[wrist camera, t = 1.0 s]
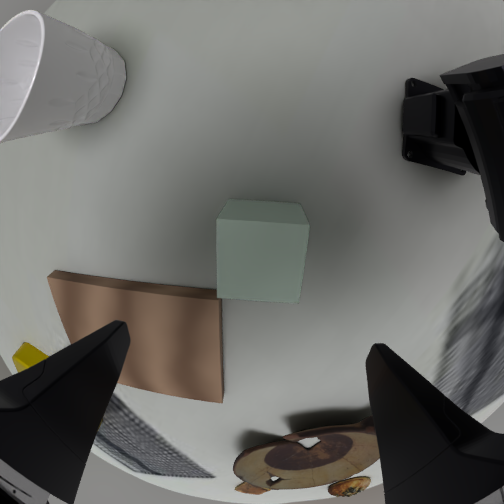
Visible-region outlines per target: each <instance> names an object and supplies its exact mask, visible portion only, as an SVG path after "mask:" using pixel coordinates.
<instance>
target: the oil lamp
mask: <svg viewBox="0 0 504 504" xmlns="http://www.w3.org/2000/svg"><path fill="white" fill-rule="evenodd" d="M313 437H318V439H320V440H321V441H320V442H319V443H317V444H316V445H315V446H313V447H312V448H310V449H305V448H304V447H303V446H302V445H300V444H298V443H297V442H296V441H299V440H302V439H305V438H313ZM283 438H284V439H286V441H279V442H271V443H267V444H264V445H259V446H256V447H252V448H249V449H246V450H244V451H243V452H242V453H241V454H240V455H239V456H238V457H237V458H236V460H235V462H234V466H233V471H234V474H235V475H236V476H237V477H239V478H240V479H242V481H244V482H247V483H248V484H251V485H252V486H253V487H261V488H269V489H274V490H279V489H299V488H300V489H301V488H310V487H316V486H322V485H326V484H330V483H333V482H337V481H341V480H344V479H346V478H349V477H351V476H353V475H354V474H358V473H359V472H361V471H363V470H364V469H366V468H367V467H369V466H370V465H372V464H373V463H374V462H376V461H377V460H378V459H379V458H380V455H379V449H378V443H377V437H376V431H375V426H374V421H373V416H372V415H371V416H369V417H367V418H365V419H364V420H362V421H361V422H358V423H355V424H349V425H335V426H326V427H320V428H314V429H309V430H304V431H300V432H296V433H292V434H288V435H285V436H283ZM273 476H276V477H279V478H278V479H277V480H275V481H272V479H271V477H273Z"/></svg>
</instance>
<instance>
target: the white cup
mask: <svg viewBox="0 0 504 504" xmlns="http://www.w3.org/2000/svg"><path fill="white" fill-rule="evenodd" d="M126 78H127V77H126V69H125V61H124V60H123V59H122V58H121V56H120V55H119V54H118V53H117V51H116V50H114V49H112V48H110V47H108V46H106V45H104V44H103V43H101V42H100V41H99V40H97V39H96V38H94V37H92V36H90V35H88V34H86V33H85V32H83V31H81V30H79V29H77V28H75V27H73V26H70V25H68V24H66V23H64V22H61V21H59V20H57V19H54V18H52V17H50V16H47V15H45V14H42V13H40V12H37V11H35V10H27V11H24V12H21V13H19V14H18V15H16V16H14V17H13V18H12V19H11V20H9V21H8V22H7V23H6V24H5V25H4V26H3V27H2V28H1V29H0V143H3V142H6V141H10V140H14V139H19V138H23V137H28V136H33V135H38V134H43V133H46V132H52V131H57V130H61V129H68V128H71V127H73V126H81V125H86V124H91V123H96V122H98V121H99V120H101V119H102V118H103V117H104V116H106V115H107V114H109V113H110V112H111V111H112V109H113V108H114V106H115V105H116V103H117V102H118V100H119V99H120V97H121V96H122V92H123V88H124V85H125V81H126Z"/></svg>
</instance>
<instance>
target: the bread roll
mask: <svg viewBox="0 0 504 504" xmlns="http://www.w3.org/2000/svg"><path fill="white" fill-rule="evenodd" d="M370 482H371V480H370V479H369V478H368V477H354V478H350V479H346V480H344V481H340V482H336V483H335V484H332V485H330V486H329V488H328V492H329V493H330V494H331V495H334V496H336V497H339V496H343V497H344V496H348V497H350V496H352V495H355V494H357V493H358V492H361V491H363V490H365V489H366V488H367V487H368V486H369V485H370Z"/></svg>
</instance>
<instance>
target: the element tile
mask: <svg viewBox="0 0 504 504" xmlns="http://www.w3.org/2000/svg"><path fill="white" fill-rule="evenodd" d="M48 357H49V356H47V355H46V354H44V353H43V352H41V351H40V350H38V349H37V348H35V347H34V346H32V345H31V344H29V343H27V342H24V343H23V344H22V346H21V347H20V348H19V349H18V350H17V351H16V353H15V354H14V355H13V356H12V359H13V362H14V364H15V367H16V369H17V371H18V373H19V372H21V371H23V370H25V369H27V368H29V367H31V366H33V365H35V364H37V363H39V362H40V361H42V360H44V359H46V358H48ZM102 421H103V418H102ZM102 421H101V423H102ZM101 423H100V425H101ZM99 427H100V426H99Z"/></svg>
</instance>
